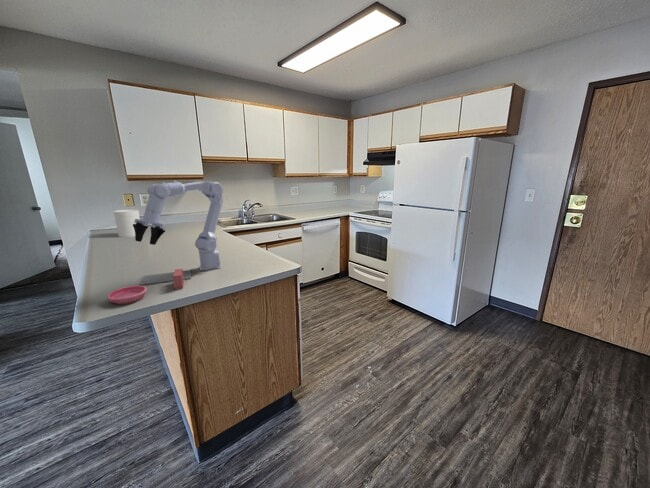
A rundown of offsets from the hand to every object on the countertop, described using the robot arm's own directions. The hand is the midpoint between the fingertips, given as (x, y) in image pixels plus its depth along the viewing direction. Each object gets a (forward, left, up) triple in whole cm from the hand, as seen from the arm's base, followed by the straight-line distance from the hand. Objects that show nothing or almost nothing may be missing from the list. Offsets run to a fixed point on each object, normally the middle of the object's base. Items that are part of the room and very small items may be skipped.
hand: (145, 242), depth 111 cm
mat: (-5, -7, -19) cm, 21 cm away
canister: (+33, -129, -19) cm, 134 cm away
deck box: (-11, +5, -19) cm, 23 cm away
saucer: (+6, +12, -19) cm, 24 cm away
